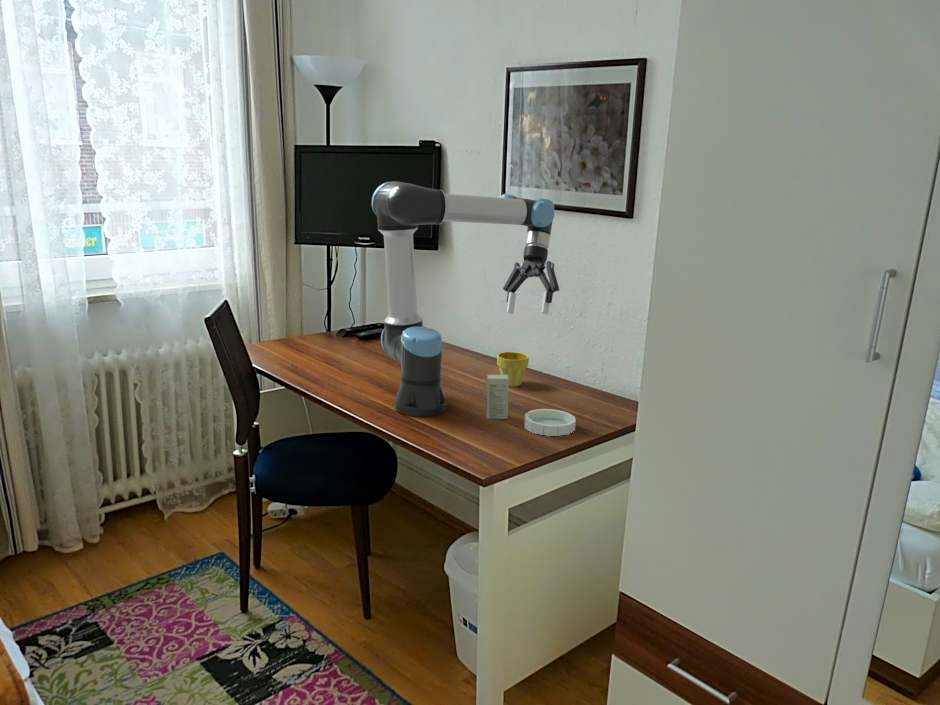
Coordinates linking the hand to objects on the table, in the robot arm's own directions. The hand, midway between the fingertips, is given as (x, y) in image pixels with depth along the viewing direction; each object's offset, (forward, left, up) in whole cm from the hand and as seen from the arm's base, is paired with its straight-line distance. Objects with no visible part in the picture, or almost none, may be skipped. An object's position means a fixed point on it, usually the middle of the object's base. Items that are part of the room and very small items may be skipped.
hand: (526, 313), depth 231 cm
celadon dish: (-9, -32, -26) cm, 42 cm away
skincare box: (-19, -19, -26) cm, 37 cm away
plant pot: (+1, +8, -26) cm, 27 cm away
